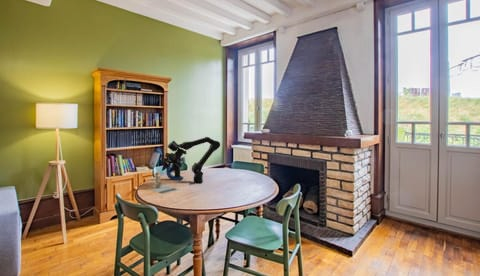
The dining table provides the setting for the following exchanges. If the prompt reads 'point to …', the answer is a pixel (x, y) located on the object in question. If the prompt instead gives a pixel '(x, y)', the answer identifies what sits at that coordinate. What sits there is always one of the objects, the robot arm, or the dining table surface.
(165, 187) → the board
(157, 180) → the birch peg
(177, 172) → the handheld scanner
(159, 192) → the strip
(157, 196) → the dining table surface
